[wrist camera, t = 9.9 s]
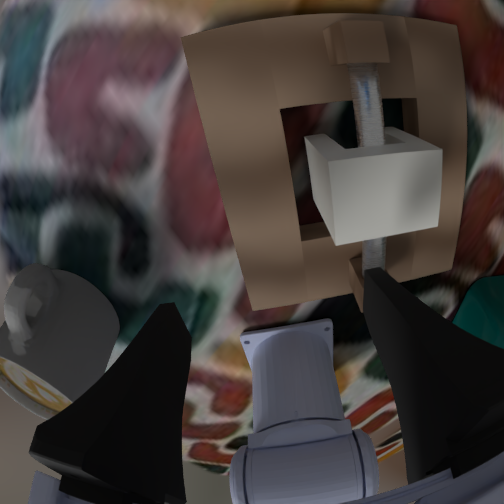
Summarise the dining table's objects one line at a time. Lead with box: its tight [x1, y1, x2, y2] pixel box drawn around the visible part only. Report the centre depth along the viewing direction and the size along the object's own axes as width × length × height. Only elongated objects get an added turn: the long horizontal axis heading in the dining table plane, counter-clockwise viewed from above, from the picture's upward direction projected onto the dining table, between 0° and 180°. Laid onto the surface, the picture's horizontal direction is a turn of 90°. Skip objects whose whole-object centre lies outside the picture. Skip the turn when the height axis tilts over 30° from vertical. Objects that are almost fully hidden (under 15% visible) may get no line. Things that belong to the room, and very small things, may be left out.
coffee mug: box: [0, 263, 120, 420], centre depth 19 cm, size 13×10×10 cm
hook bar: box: [347, 63, 387, 279], centre depth 14 cm, size 14×1×1 cm, turn 12°
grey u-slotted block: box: [304, 127, 443, 246], centre depth 14 cm, size 4×6×6 cm
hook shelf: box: [181, 13, 467, 313], centre depth 15 cm, size 18×16×5 cm
